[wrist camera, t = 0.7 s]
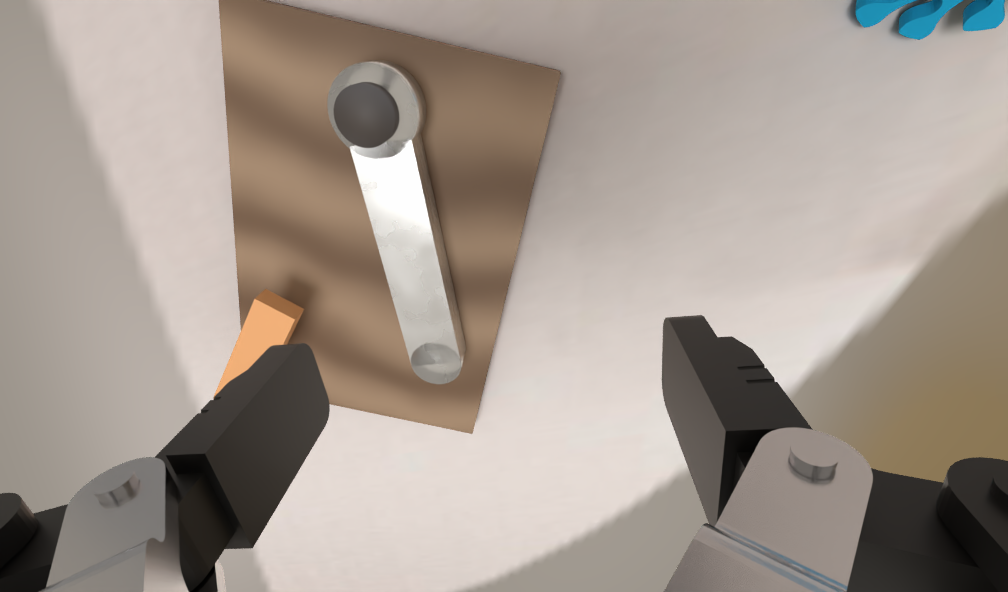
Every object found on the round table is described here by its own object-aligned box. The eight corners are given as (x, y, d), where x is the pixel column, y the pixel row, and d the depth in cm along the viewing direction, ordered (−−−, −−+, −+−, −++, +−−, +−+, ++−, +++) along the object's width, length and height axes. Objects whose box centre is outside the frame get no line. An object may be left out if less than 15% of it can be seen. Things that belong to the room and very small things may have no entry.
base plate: (235, -7, 24) (168, -17, 20) (559, 70, 25) (563, 78, 21) (255, 373, 36) (216, 419, 32) (474, 419, 37) (465, 471, 33)
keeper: (288, 268, 30) (254, 298, 27) (323, 287, 31) (295, 319, 27) (247, 360, 34) (213, 398, 30) (279, 376, 34) (249, 414, 31)
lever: (331, 67, 24) (315, 70, 22) (415, 54, 24) (405, 55, 22) (415, 367, 33) (408, 386, 31) (478, 363, 32) (474, 381, 31)
